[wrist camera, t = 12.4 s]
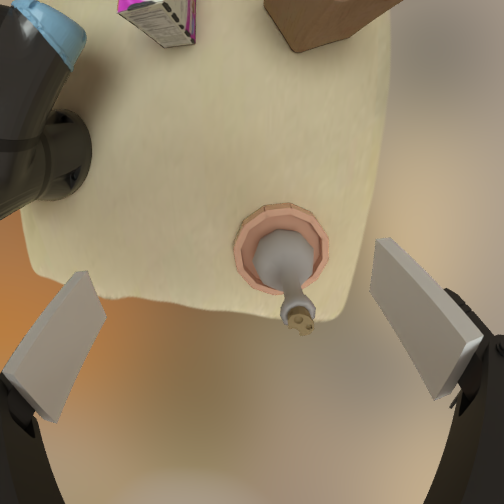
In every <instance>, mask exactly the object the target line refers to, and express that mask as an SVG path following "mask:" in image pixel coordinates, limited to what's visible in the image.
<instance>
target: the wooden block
mask: <svg viewBox="0 0 504 504" xmlns="http://www.w3.org/2000/svg"><path fill="white" fill-rule="evenodd" d="M401 1H403V0H264V7H265V8H266V10H267V11H268V13H269V14H270V15H271V17H272V18H273V20H274V21H275V23H276V25H277V26H278V28H279V29H280V31H281V32H282V34H283V36H284V37H285V39H286V40H287V42H288V44H289V45H290V47H291V49H293V50H294V51H295V52H303V51H306V50H309V49H312V48H315V47H318V46H321V45H324V44H328V43H331V42H334V41H338V40H342V39H345V38H349V37H351V36H352V35H353V34H355V33H356V32H357V31H359V30H360V29H362V28H363V27H364V26H366V25H367V24H369V23H370V22H371V21H373V20H374V19H376V18H377V17H379V16H380V15H382V14H383V13H384V12H386V11H387V10H389V9H391V8H392V7H393V6H395V5H396V4H398V3H400V2H401Z"/></svg>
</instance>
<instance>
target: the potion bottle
mask: <svg viewBox="0 0 504 504" xmlns="http://www.w3.org/2000/svg"><path fill="white" fill-rule="evenodd" d="M313 257H314V248H313V247H312V246H311V245H310V244H309V243H308V242H307V240H306V239H305V238H304V237H303V236H302V235H301V234H300V233H299V232H297V231H292V230H284V229H276V230H274V231H273V232H271V233H269V234H268V235H266V236H264V237H262V238H261V239H260V241H259V243H258V246H257V249H256V252H255V255H254V257H253V260H252V262H253V264H254V267H255V269H256V271H257V273H258V275H259V277H260V279H261V281H262V282H263V284H265V285H267V286H269V287H272V288H274V289H276V290H279V291H282V292H284V297H285V300H284V302H283V304H282V306H281V312H280V316H281V318H282V320H283V323H284V324H285V325H288V327H289V329H292V328H295V329H297V330H298V331H299V332H300V336H305V335H309V334H311V332H312V331H313V330H314V322H313V319H314V318H315V310H316V308H315V306H314V304H313V303H312V301H311V300H310V299H309V298H308V297H307V296H306V295H304V294H303V291H302V288H301V285H302V284H303V283H304V282H305V281H306V280H307V279H308V278H309V277H310V276H311V275H312V272H313Z"/></svg>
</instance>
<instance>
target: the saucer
mask: <svg viewBox="0 0 504 504" xmlns="http://www.w3.org/2000/svg"><path fill="white" fill-rule="evenodd" d="M276 229H284V230H292V231H297V232H299V233H300V234H301V235H302V236H303V237H304V238H305V239H306V240H307V242H308V243H309V244H310V245H311V246H312V247H313V248H314V257H313V272H312V275H311V276H310V277H309V278H308V279H307V280H306V281H305V282H304V283H303V284H302V285H301V288H302V289H304V288H305V287H307V286H308V285H310V284H311V283H313V282H314V281H316V280H317V279H318V278H319V276H320V274H321V272H322V271H323V269H324V267H325V266H326V264H327V262H328V259H329V238H328V236H327V234H326V233H325V231H324V230H323V228H322V227H321V225H320V224H319V222H318V221H317V219H316V218H315V216H314V215H313V214H312V213H311V212H310V211H307V210H305V209H303V208H301V207H298V206H296V205H294V204H291V203H282V204H273V205H265V206H262V207H261V208H260V209H258V210H257V211H256V212H254V213H253V214H251V215H250V216H249V217H247V218H246V219H245V220H244V221H243V222H242V225H241V227H240V229H239V232H238V234H237V236H236V239H235V241H234V249H233V250H234V255H235V261H236V267H237V271H238V273H239V274H240V275H241V276H242V277H243V278H244V279H245V280H246V282H247V283H248V284H249V285H250V286H251V287H252V288H254V289H257V290H260V291H263V292H266V293H269V294H272V295H274V294H275V295H281V294H284V292H282V291H279V290H276V289H274V288H272V287H269V286H267V285H265V284H263V282H262V281H261V279H260V277H259V275H258V273H257V271H256V269H255V267H254V264H253V262H252V260H253V257H254V255H255V252H256V249H257V246H258V243H259V241H260V239H261V238H262V237H264V236H266V235H268V234H269V233H271V232H273V231H274V230H276Z"/></svg>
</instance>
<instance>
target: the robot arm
mask: <svg viewBox="0 0 504 504" xmlns="http://www.w3.org/2000/svg"><path fill="white" fill-rule="evenodd" d="M11 5H12V6H11V7H9V6H5V5H0V220H2V219H3V218H5V217H7V216H8V215H10V214H12V213H13V212H15V211H17V210H18V209H20V208H22V207H24V206H25V205H27V204H29V203H31V202H33V201H35V200H41V201H55V200H59V199H62V198H64V197H66V196H68V195H70V194H72V193H73V192H75V191H76V190H77V189H78V188H79V187H80V186H81V184H82V183H83V181H84V180H85V178H86V176H87V173H88V170H89V167H90V163H91V155H92V148H91V140H90V135H89V132H88V130H87V127H86V125H85V124H84V122H83V121H82V119H81V118H80V117H79V116H78V115H76V114H75V113H73V112H71V111H69V110H52V107H53V105H54V103H55V101H56V99H57V97H58V95H59V93H60V91H61V89H62V87H63V85H64V83H65V81H66V80H67V78H68V76H69V74H70V72H72V71H73V69H74V64H75V62H76V60H77V59H78V57H79V55H80V53H81V51H82V50H83V48H84V46H85V44H86V40H87V36H86V33H85V31H84V29H83V28H82V27H81V26H80V25H78V24H77V23H76V22H75V21H73V20H72V19H70V18H69V17H67V16H66V15H64V14H63V13H61V12H59V11H58V10H56V9H54V8H52V7H50V6H48V5H46V4H44V3H40V2H39V1H37V0H14V1H13V2H12V3H11ZM370 293H371V295H372V296H373V298H374V299H375V301H376V302H377V304H378V305H379V307H380V309H381V310H382V312H383V313H384V315H385V316H386V318H387V320H388V321H389V323H390V324H391V326H392V328H393V329H394V331H395V332H396V334H397V336H398V338H399V339H400V341H401V342H402V344H403V346H404V348H405V349H406V351H407V353H408V354H409V356H410V358H411V360H412V361H413V363H414V365H415V367H416V369H417V370H418V372H419V374H420V376H421V378H422V379H423V381H424V383H425V385H426V387H427V389H428V391H429V393H430V394H431V396H432V398H433V400H434V401H435V400H437V399H439V398H442V397H444V396H446V395H448V394H450V393H451V392H452V390H453V389H454V388H455V386H456V384H457V383H458V384H459V386H460V387H461V390H460V392H459V393H458V395H457V396H456V397H455V399H454V400H453V402H452V403H451V405H450V408H451V409H452V407H453V406H454V405H455V404H456V408H455V412H454V416H453V421H452V425H451V428H450V432H449V436H448V439H447V442H446V446H445V449H444V452H443V455H442V458H441V461H440V464H439V467H438V469H437V472H436V475H435V477H434V480H433V482H432V485H431V487H430V490H429V492H428V494H427V497H426V499H425V501H424V503H423V504H504V335H496V336H494V335H493V334H492V333H491V331H490V330H489V329H488V328H487V327H486V325H485V324H484V323H483V322H482V321H481V320H480V318H479V317H478V316H477V315H476V314H475V313H474V312H473V311H471V308H470V307H469V306H468V305H466V304H465V302H464V301H463V300H462V299H461V298H460V296H459V295H458V294H456V293H454V292H453V291H451V290H449V289H447V288H445V289H443V288H442V287H441V286H440V285H439V284H438V283H437V282H436V281H435V280H434V279H433V278H432V277H431V276H430V275H429V274H428V273H427V272H426V271H425V270H424V269H423V268H422V267H421V266H420V265H419V264H418V263H417V262H416V261H415V260H414V259H413V258H412V257H411V256H410V255H409V254H408V253H407V252H406V251H405V250H403V249H402V248H401V247H400V246H399V245H398V244H397V243H396V242H395V241H394V240H393V239H392V238H381V239H376V241H375V252H374V261H373V269H372V277H371V284H370ZM106 318H107V316H106V314H105V312H104V310H103V307H102V305H101V303H100V301H99V298H98V296H97V293H96V291H95V289H94V286H93V284H92V281H91V279H90V276H89V274H88V271H80V272H75V273H74V274H73V276H72V277H71V278H70V279H69V280H68V281H67V283H66V284H65V285H64V286H63V287H62V289H61V290H60V291H59V292H58V293H57V295H56V296H55V297H54V298H53V300H52V301H51V302H50V303H49V305H48V306H47V307H46V309H45V310H44V311H43V312H42V314H41V315H40V317H39V318H38V319H37V321H36V322H35V323H34V325H33V326H32V327H31V329H30V330H29V332H28V333H27V334H26V335H25V337H24V338H23V339H22V341H21V342H20V344H19V345H18V347H17V348H16V350H15V352H14V353H13V354H12V356H11V357H10V359H9V361H8V362H7V364H6V365H5V367H4V368H3V370H2V372H1V373H0V504H65V502H64V500H63V498H62V496H61V493H60V491H59V488H58V486H57V483H56V481H55V478H54V475H53V473H52V470H51V467H50V464H49V461H48V458H47V454H46V451H45V448H44V444H43V441H42V437H41V433H40V429H39V425H38V422H37V419H36V418H35V417H34V416H33V414H34V412H35V411H36V412H37V413H38V414H39V415H40V416H41V417H42V418H43V419H44V420H47V421H50V422H53V423H57V422H58V419H59V417H60V415H61V412H62V409H63V407H64V405H65V403H66V400H67V398H68V395H69V393H70V391H71V388H72V386H73V384H74V382H75V380H76V378H77V375H78V373H79V371H80V369H81V367H82V365H83V362H84V361H85V359H86V356H87V355H88V352H89V351H90V348H91V347H92V344H93V342H94V341H95V339H96V337H97V335H98V333H99V331H100V329H101V327H102V325H103V324H104V322H105V319H106ZM456 402H457V403H456Z"/></svg>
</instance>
